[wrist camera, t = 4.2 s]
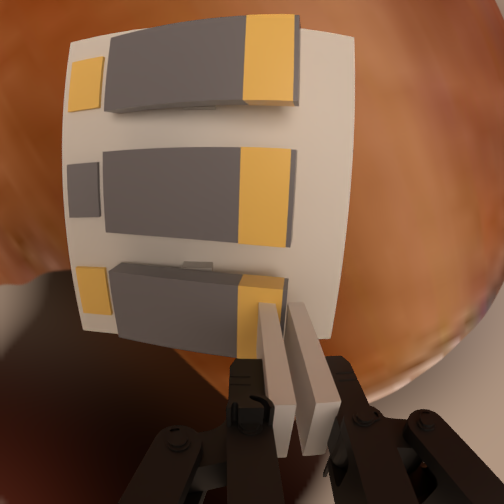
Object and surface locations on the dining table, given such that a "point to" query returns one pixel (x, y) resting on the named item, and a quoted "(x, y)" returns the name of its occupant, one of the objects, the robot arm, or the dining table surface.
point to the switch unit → (215, 135)
